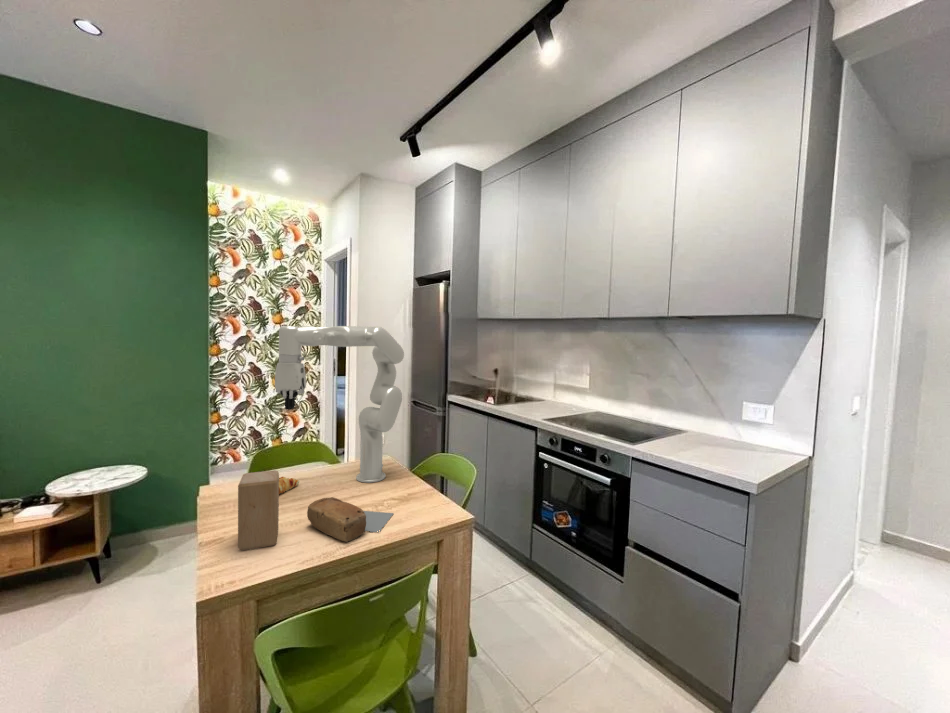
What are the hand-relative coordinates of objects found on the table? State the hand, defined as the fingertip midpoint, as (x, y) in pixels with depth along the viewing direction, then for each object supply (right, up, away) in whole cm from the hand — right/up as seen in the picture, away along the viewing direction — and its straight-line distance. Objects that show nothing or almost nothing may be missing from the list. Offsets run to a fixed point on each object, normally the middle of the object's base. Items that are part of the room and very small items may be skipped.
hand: (289, 408), depth 146 cm
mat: (+29, -36, -12) cm, 48 cm away
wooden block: (+4, -37, -27) cm, 46 cm away
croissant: (-11, -35, +9) cm, 38 cm away
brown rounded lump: (+16, -32, -13) cm, 38 cm away
